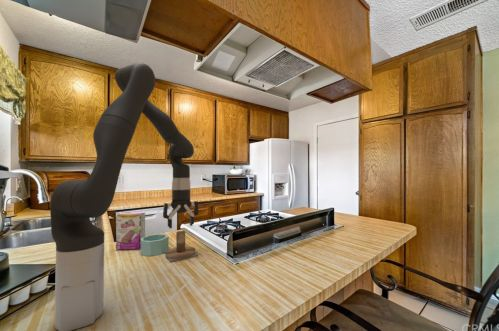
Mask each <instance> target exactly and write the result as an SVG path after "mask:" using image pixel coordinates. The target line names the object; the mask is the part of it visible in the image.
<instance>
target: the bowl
mask: <svg viewBox="0 0 499 331" xmlns="http://www.w3.org/2000/svg"><path fill="white" fill-rule="evenodd" d="M169 238H170V237H169V236H168V234H167V233H166V234H164V233H156V234H148V235H145V237H143V238H141V242H140V250H139V251H140V255H141V256H144V257H154V256H159V255H163V254H164V253H165V252H167V251H168V250H170V248H169V247H170V246H169V244H170V243H169Z"/></svg>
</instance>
